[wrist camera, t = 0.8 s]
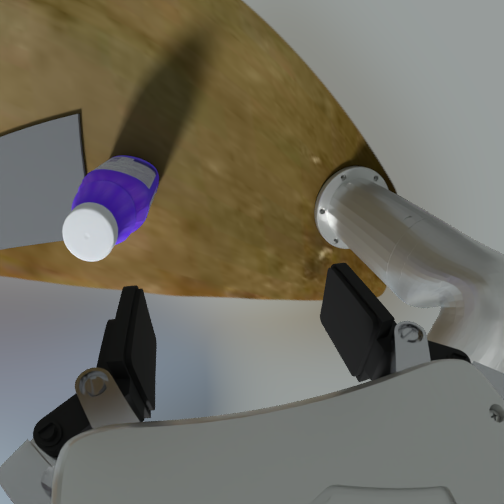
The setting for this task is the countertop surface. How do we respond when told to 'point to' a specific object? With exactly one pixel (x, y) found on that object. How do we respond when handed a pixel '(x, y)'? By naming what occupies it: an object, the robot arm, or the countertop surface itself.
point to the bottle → (109, 206)
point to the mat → (39, 181)
